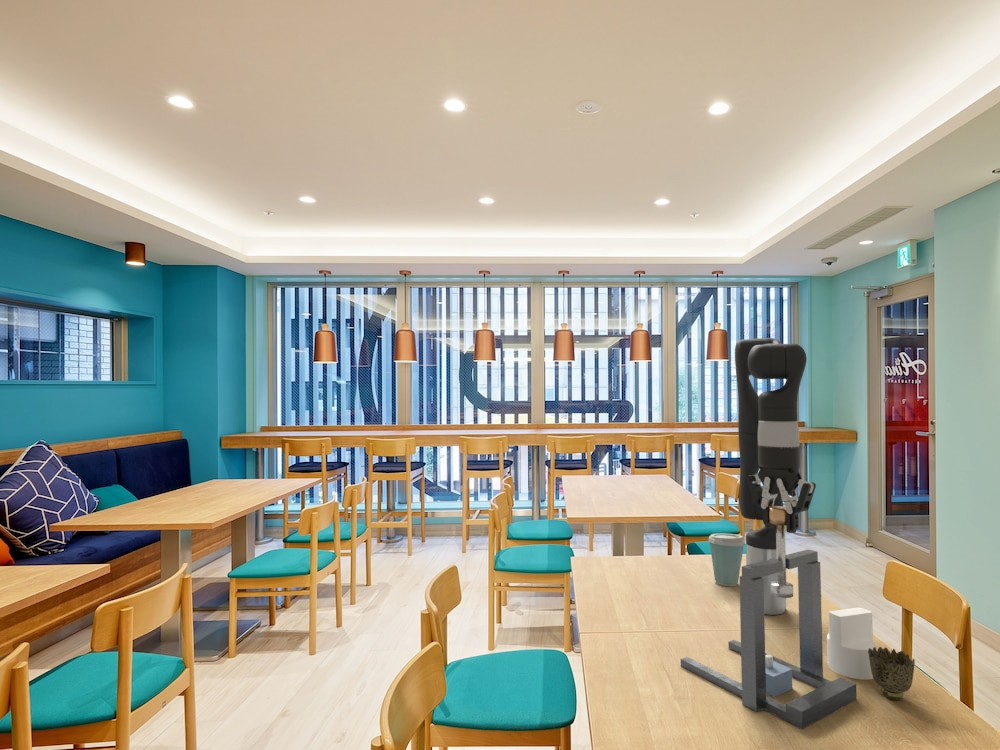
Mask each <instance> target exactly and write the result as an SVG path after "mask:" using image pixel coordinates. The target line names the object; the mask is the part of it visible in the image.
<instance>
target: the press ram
mask: <svg viewBox="0 0 1000 750" xmlns="http://www.w3.org/2000/svg"><path fill="white" fill-rule="evenodd" d="M786 514H787V510H786V506H784V505H783V506H770V507H769V523H771V524H774V525H776V549H777V560H781V561H783V571H782V572H778V573H777V581H772V582H771V594H772V595H774V596H777V597H781V598H786V599H791V598H793V597H794V585H793V584H792V583H791V582H788V581H787V568H786V555H787V553H786Z"/></svg>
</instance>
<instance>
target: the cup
mask: <svg viewBox="0 0 1000 750" xmlns="http://www.w3.org/2000/svg"><path fill="white" fill-rule="evenodd" d="M868 654H869V660H870V667H871V672H872V676H873V681H874V682H875V683H876V684H877V686H879V687H880V693H881V695H882V696H884V697H885V698H887V699H889V700H892V701H901V700H903V698H904V697H905V695H904V693H906V692H907V691H909V690H910V689H911V687H912V685H913V679H914V672H915V658H912V659H910V655H909V654H906V653H905V651H904V650H900V651H896V649H895V648H893V649H892V650H891V651H890V650H889V649H888V648H887V647H884V648H882V647H881V646H879V647H878V648H877V647H876V648H875V647H874V648H873V651H872V649H870V648H869V650H868Z"/></svg>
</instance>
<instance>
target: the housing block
mask: <svg viewBox="0 0 1000 750" xmlns="http://www.w3.org/2000/svg"><path fill="white" fill-rule="evenodd" d="M773 657H774V656H773V655H771V654H769V655H765V665H766V695H769V696H771V697H774V698H775V697H777V696H779V695H781V694H783V693H785V692H788V691H791V690H793V677H792V669H791V668H788V667H786V666H784V665H782V664H779V663H777V662H775V661H773Z"/></svg>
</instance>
